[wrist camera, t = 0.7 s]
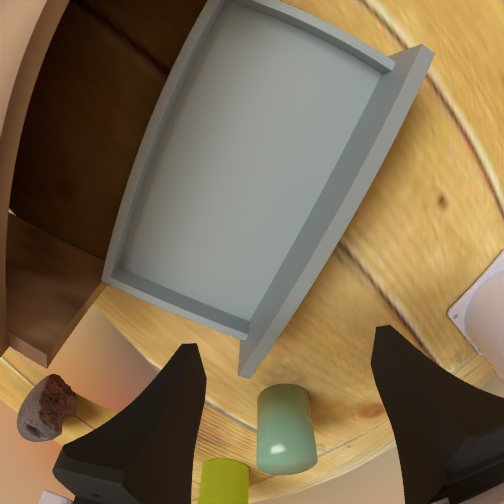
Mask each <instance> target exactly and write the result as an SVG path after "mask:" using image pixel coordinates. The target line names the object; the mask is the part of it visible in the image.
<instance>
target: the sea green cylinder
mask: <svg viewBox="0 0 504 504" xmlns="http://www.w3.org/2000/svg"><path fill="white" fill-rule="evenodd" d="M316 463H317V452H316V444H315V437H314V429H313V422H312V415H311V408H310V401H309V395H308V393H307V391H306V390H305V389H303V388H302V387H300V386H297V385H293V384H278V385H274V386H271V387H268V388H266V389H265V390H263V391H262V392H261V393H260V394H259V396H258V399H257V467H258V468H259V469H260V470H261V471H263V472H266V473H269V474H274V475H292V474H297V473H301V472H304V471H306V470H309V469H310V468H312V467H313V466H314V465H315V464H316Z"/></svg>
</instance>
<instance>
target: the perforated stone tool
mask: <svg viewBox="0 0 504 504" xmlns="http://www.w3.org/2000/svg"><path fill="white" fill-rule="evenodd" d="M75 400H76V395H75V392H73V391H72V390H71V387H70V386H68V385H67V384H66V383H65V382H64V380H63V379H61V377H60V376H59V375H56V374H51V375H49V376H47V377H46V378H44V379H43V380H41V381H40V382H39V383H38V384H37V385H36V386H35V387H34V388H33V389H32V390H31V392H30V393H29V394H28V396H27V397H26V399H25V400H24V402H23V404H22V405H21V408H20V410H19V413H18V418H17V428H18V431H19V433H20V435H21V436H22V437H23V438H25V439H27V440H29V441H33V442H40V441H48V440H52V439H54V438H56V437H57V436H59V435H60V434H61V433H62V424H63V421H65V420H67V419H69V418H71V417H73V416H74V415H75V411H76V410H75V405H76V402H75Z"/></svg>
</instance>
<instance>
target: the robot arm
mask: <svg viewBox="0 0 504 504" xmlns="http://www.w3.org/2000/svg"><path fill="white" fill-rule="evenodd" d="M455 314H456V315H455ZM447 315H448V316H449V318H450V319H451V320H452V321H453V323H454V324H455V325H456V326H457V327H458V329H459V330H460V331H461V332H462V334H463V335H464V336H465V337H466V339H467V340H468V341H469V342H470V344H471V345H472V346H473V348H474V349H475V350H476V351H477V353H478V354H479V355H480V356H483V355H484V356H485V358H486V359H487V361H488V362H489V363H490V365H491V366H492V368H493V369H494V371H495V372H496V374H497V375H498V376H499V378H500V379H501V381H502V382H503V384H504V250H503V251H502V252H501V253H500V255H499V256H498V257H497V258H496V259H495V261H494V262H493V263H492V264H491V265H490V266H489V267H488V269H487V270H486V271H485V272H484V273H483V274H482V275H481V276H480V277H479V279H478V280H477V281H476V282H475V283H474V284H473V285H472V286H471V287H470V288H469V289H468V290H467V291H466V292H465V293H464V294H463V296H462V297H461V298H460V299H459V300H458V301H457V302H456V303H455V304H454V305H453V306H452V307H451V308H450V309H449V310H448V312H447ZM454 315H455V316H454ZM371 367H372V371H373V375H374V379H375V383H376V386H377V389H378V391H379V394H380V397H381V399H382V402H383V404H384V407H385V410H386V412H387V415H388V418H389V420H390V423H391V426H392V429H393V432H394V436H395V440H396V445H397V449H398V454H399V459H400V464H401V471H402V478H403V485H404V495H405V504H504V398H502V397H499V396H496V395H493V394H490V393H488V392H485V391H483V390H481V389H478V388H476V387H474V386H472V385H470V384H468V383H466V382H464V381H462V380H461V379H459V378H457V377H456V376H454V375H452V374H451V373H449V372H447V371H446V370H444V369H443V368H441V367H440V366H439V365H437V364H436V363H435V362H433V361H432V360H431V359H429V358H428V357H427V356H425V355H424V354H423V353H422V352H421V351H419V350H418V349H417V348H416V347H415V346H413V345H412V344H411V343H410V342H409V341H408V340H407V339H405V338H404V337H403V336H402V335H401V334H400V333H399V332H398V331H397V330H395V329H394V328H393V327H392V326H391V325H387V326H380V327H376V333H375V340H374V346H373V353H372V359H371ZM206 380H207V378H206V375H205V371H204V368H203V364H202V361H201V357H200V353H199V350H198V346H197V343H192V344H182V345H181V346H180V347H179V348H178V350H177V351H176V352H175V353H174V355H173V356H172V357H171V359H170V360H169V361H168V363H167V364H166V365H165V366H164V368H163V369H162V370H161V371H160V373H159V374H158V375H157V376H156V377H155V379H154V380H153V381H152V382H151V383H150V384H149V385H148V386H147V388H146V389H145V390H144V391H143V392H142V393H141V394H140V395H139V396H138V397H137V398H136V399H135V400H134V401H133V402H132V403H130V404H129V405H128V406H127V407H126V408H125V409H123V410H122V411H121V412H120V413H118V414H117V415H116V416H114V417H113V418H111V419H110V420H109V421H107V422H106V423H105V424H103V425H101V426H100V427H98V428H97V429H95V430H93V431H91V432H90V433H88V434H86V435H84V436H82V437H80V438H78V439H76V440H74V441H72V442H70V443H67V444H65V445H64V446H63V448H62V450H61V452H60V454H59V456H58V458H57V461H56V463H55V465H54V468H53V474H54V476H55V478H56V479H57V480H58V481H59V482H60V483H61V484H62V485H64V486H65V487H66V488H67V489H68V490H70V491H71V492H72V493H73V494H74V495H75V499H74V502H73V501H72V500H70V499H68V498H66V497H63V496H60V495H57V494H55V493H52V492H49V491H47V490H45V491H44V492H43V494H42V497H41V499H40V502H39V504H191V487H192V470H193V458H194V449H195V443H196V439H197V434H198V429H199V425H200V420H201V416H202V411H203V406H204V402H205V393H206Z"/></svg>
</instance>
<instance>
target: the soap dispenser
mask: <svg viewBox="0 0 504 504" xmlns="http://www.w3.org/2000/svg"><path fill="white" fill-rule="evenodd" d="M248 490H249V468H248V466H247V465H245V464H244V463H242V462H239V461H236V460H231V459H213V460H209V461H207V462H205V463H204V464H203V469H202V476H201V484H200V492H199V499H198V504H248Z"/></svg>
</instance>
